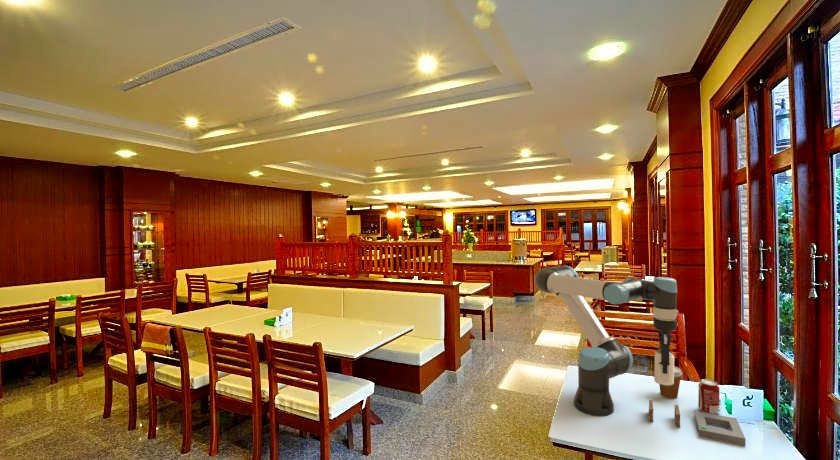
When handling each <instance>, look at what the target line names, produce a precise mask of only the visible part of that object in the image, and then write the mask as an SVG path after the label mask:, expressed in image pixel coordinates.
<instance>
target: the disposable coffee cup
mask: <svg viewBox="0 0 840 460" xmlns="http://www.w3.org/2000/svg"><path fill="white" fill-rule="evenodd" d="M682 376H683V372H682V370H681V368H679V367H678V366H675V365H674V384H673V385H671V386H665V385H661V384H659V392H660V395H661V396H662V397H663V398H666V399H669V400H670V399H677V398H678V395H679V389H680V382H681V377H682Z"/></svg>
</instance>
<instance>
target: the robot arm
mask: <svg viewBox="0 0 840 460" xmlns="http://www.w3.org/2000/svg"><path fill="white" fill-rule="evenodd" d="M534 284H535V286H536V288H537V289H538V290H539V291H540V292H543V293H546V294H552V295H556V298H557V299H561V300H562V301H563V302H564V304H565V305H566V307H567V309H568V310H569V312H570V313H571V315H572V317H573V318H574V319H575V322H576V323H577V324H578V326H579V327H580V329H581V330H582V332H583V334H584V336H585V337H586V338H587V340H588V342H589V344H590V345H591V347H585V348H582V349H581V350H580V351H579V353H578V358H577V363H578V364H577V365H578V366H577V369H578V371H577V373H578V374H577V375H578V381H577V383H578V386H577V389H576V392H575V395H574V397H573V406H574V407H575V408H576V409H577V410H579V411H580V412H582V413H584V414H588V415H590V416H602V417H603V416H609V415H612V414H614V411H615V406H614V402H613V399H612V395H611V393H610V379H612V378H616V377H617V376H618V377H619V376H621V375H624V374H625V373H627V372H628V371H631V369H632V367H633V362H634V357H633V354H632V352H631V350H630V349H629V348H628V347H627V346H626V345H623V344H621V343H619V341H618V340H617V339H616V337H612V336H610V335H609V334H608V331H607V330H606V329H605V327H604V326H603V324H602V323H601V321H600V319H599V318H598V317H597V315H596V314H595V312H594V310H593V309H592V308H591V307H590V305H589V303H588V302H587V300H586V299H585V298H590V299H591V298H592V299H595V300H603V301H607V302H608V303H609V304H612V305H621V304H624V303H625V304H626V303H628V302H632V301H637V300H647V301H651V302H653V306H652V307H653V311H652V312H653V313H652V314H653V320H652V321H653V324H652V325H653V328H655V329H656V330H659V331H658V332H657V333H658V341H659V349H661V363H660V362H659V364H661V367H660V381H665V382H669V365H670V363H669V351H670V347H671V340H672V335H671V332H674V331H676V330H677V314H679V310H677V307H678V306H677V300H678V298H677V296H678V285H677V280H676V279H675V278H672V277H665V276H657V277H656V276H655V277H654V279H653V281H651V280H644V279H638V278H630V277H629V278H625V279H624V281H623V280H622V282H616V281H605V280H599V279H592V278H591V279H590V278H583V277H579V274H578V272H577V271H576V270H575V269H574V268H573V267H571V266H568V265H556V266H551V267H550V266H549V267H544V268H541V269H540V270H538V271H537V272H536V273H535V276H534Z"/></svg>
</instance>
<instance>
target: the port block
mask: <svg viewBox="0 0 840 460" xmlns="http://www.w3.org/2000/svg"><path fill="white" fill-rule="evenodd" d="M693 412H694V414H693V417H694V421H695V425H696V429H697V432H698V436H699V437H700V438H705V439H711V440H716V441H721V442H726V443H730V444H735V445H739V444H740V446H744V447H745V446H746V437H745V434H744V433H743V430H742V427H741V426H740V424H739V421H738V419H737V418H736V417H732V416H731V417H730V416H726V415H720V414H710V413H705V412H702V411H700V410H699V411H698V410H694V411H693ZM708 425H711V426H708ZM712 426H718V427H712ZM719 427H723V428H727V429H722V428H719Z"/></svg>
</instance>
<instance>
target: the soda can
mask: <svg viewBox="0 0 840 460" xmlns="http://www.w3.org/2000/svg"><path fill="white" fill-rule="evenodd" d="M697 405H698V407H697V408H698V409H699V411H700V412H705V413H710V414H715V415H718V414H717V412H718V408H719V409H720V387H719V385H718V382H717V381H715V380H712V379H707V378H706V379H705V378H704V379H703V378H702V379H700V382H699V383H698V401H697Z"/></svg>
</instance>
